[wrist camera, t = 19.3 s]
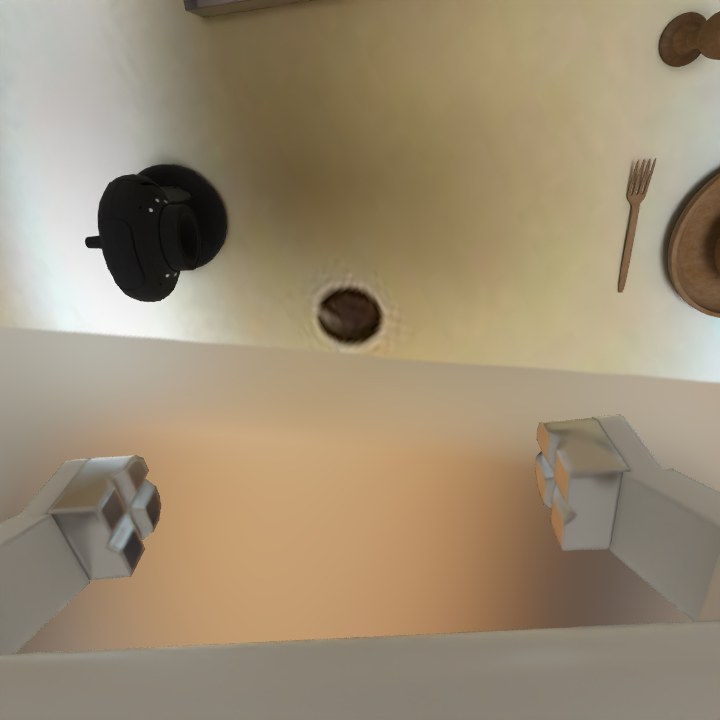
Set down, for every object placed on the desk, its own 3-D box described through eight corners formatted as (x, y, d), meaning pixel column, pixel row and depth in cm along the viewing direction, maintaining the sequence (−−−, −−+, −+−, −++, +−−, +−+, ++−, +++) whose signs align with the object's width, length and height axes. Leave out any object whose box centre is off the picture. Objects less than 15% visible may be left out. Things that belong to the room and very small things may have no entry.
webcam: (237, 265, 39) (196, 318, 30) (142, 270, 39) (75, 323, 30) (217, 158, 35) (164, 182, 26) (113, 164, 35) (27, 190, 27)
